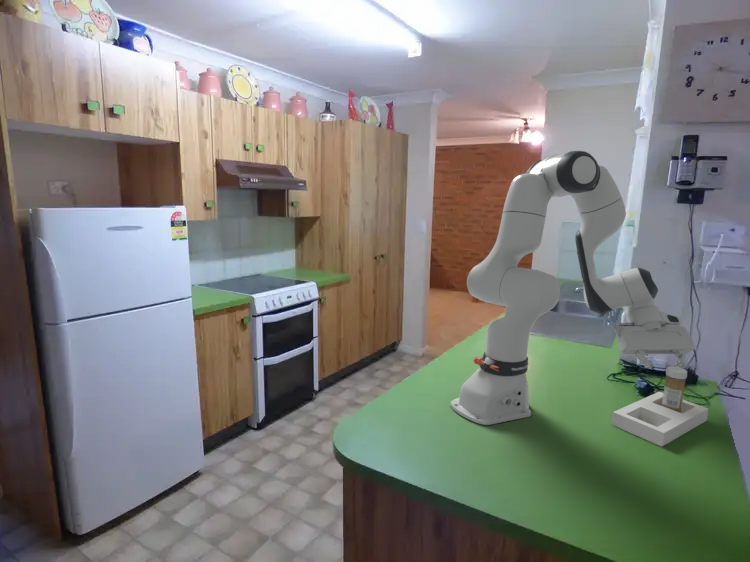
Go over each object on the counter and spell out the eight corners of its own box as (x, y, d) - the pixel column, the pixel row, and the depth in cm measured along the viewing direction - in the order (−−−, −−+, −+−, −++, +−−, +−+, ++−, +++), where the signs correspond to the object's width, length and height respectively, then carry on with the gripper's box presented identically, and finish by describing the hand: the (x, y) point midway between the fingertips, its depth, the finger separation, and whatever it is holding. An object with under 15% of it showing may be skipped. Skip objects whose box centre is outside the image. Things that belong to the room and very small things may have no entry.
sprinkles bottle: (683, 417, 117) (690, 370, 115) (675, 422, 115) (683, 373, 112) (664, 410, 121) (671, 364, 118) (656, 414, 118) (663, 367, 116)
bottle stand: (661, 446, 103) (663, 433, 102) (611, 424, 113) (613, 411, 112) (706, 420, 116) (708, 408, 115) (657, 402, 125) (659, 391, 125)
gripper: (618, 317, 124) (636, 362, 116) (685, 317, 125) (708, 362, 118) (606, 328, 129) (623, 372, 121) (672, 328, 131) (693, 371, 123)
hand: (666, 367), depth 119 cm, fingers open, 8 cm apart
